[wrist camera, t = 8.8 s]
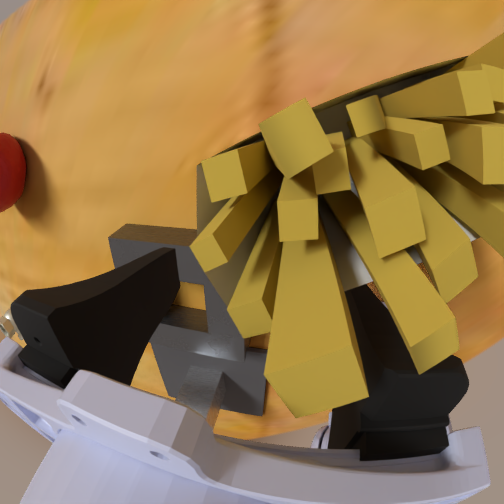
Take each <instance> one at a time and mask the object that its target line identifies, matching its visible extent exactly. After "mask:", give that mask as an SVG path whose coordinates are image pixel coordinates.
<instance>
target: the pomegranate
mask: <svg viewBox="0 0 504 504" xmlns="http://www.w3.org/2000/svg"><path fill="white" fill-rule="evenodd" d="M25 176H26V161H25V157H24V154H23V151H22V149H21V146H20V144H19V143H18V141H16V139H15V138H13V137H12V136H11V135H10V134H6V133H0V212H2V211H4V210H6V209H8V208H10V207H11V206H12V205H14V204H15V203H16V202H17V200H18V199H19V198H20V197H21V195H22V193H23V190H24V185H25Z"/></svg>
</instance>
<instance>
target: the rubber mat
mask: <svg viewBox="0 0 504 504" xmlns="http://www.w3.org/2000/svg"><path fill="white" fill-rule="evenodd" d="M151 345H152V349H153V352H154V355H155V358H156V361H157V364H158V367H159V370H160V373H161V376H162V379H163V381H164V384H165V387H166V390H167V392H168V395H169V396H171V397H174V398H176V397H177V395H178V393H179V391H180V389H181V386H182V384H183V382H184V380H185V378H186V375H187V373H188V371H189V369H190V367H191V366H195V367H200V368H206V369H212V370H218V371H223V376H224V381H225V386H226V392H225V395H224V398H223V401H222V404H221V407H220V409H224V410H229V411H234V412H239V413H245V414H251V415H257V416H262V415H263V407H264V397H265V387H266V377H265V376H264V370H265V364H266V358H267V352H268V350H265V349H258V348H251V347H249V348H248V351H247V355H246V358H245V362H239V361H233V360H228V359H222V358H217V357H212V356H207V355H202V354H197V353H192V352H188V351H183V350H179V349H175V348H170V347H166V346H162V345H158V344H154V343H151Z"/></svg>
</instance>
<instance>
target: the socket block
mask: <svg viewBox="0 0 504 504" xmlns="http://www.w3.org/2000/svg"><path fill="white" fill-rule="evenodd" d="M196 238H197V230H194V229H183V228H172V227H160V226H148V225H136V224H125V225H124V226H123V227H121V228H120V229H119V230H117V231H116V232H115V233H113V234H112V235H111V236H109V237H108V239H109V244H110V249H111V253H112V258H113V262H114V266H115V269H116V268H118V267H120V266H123V265H125V264H127V263H129V262H131V261H133V260H135V259H137V258H139V257H142V256H144V255H146V254H148V253H150V252H152V251H154V250H157V249H159V248H162V247H167V248H175V250H176V258H177V266H178V273H179V280H180V281H182V282H189V283H195V284H202V285H204V293H205V304H206V311H205V310H200V309H194V308H188V307H183V306H177V305H171V307H170V308H169V310H168V311H167V313H166V315H165V316H164V318H163V319H162V321H161V322H160V324H159V326H158V327H157V329H156V330H155V332H154V334H153V335H152V337H151V338H150V340H149V342H151V343H154V344H158V345H162V346H166V347H170V348H175V349H179V350H183V351H188V352H192V353H197V354H202V355H207V356H212V357H217V358H222V359H228V360H233V361H239V362H245V358H246V355H247V351H248V348H249V344H250V337H248V338H244V339H243V337H242V335H241V333H240V332H239V330H238V328H237V327H236V325H235V323H234V321H233V320H232V318H231V316H230V315H229V313H228V311H227V308H228V307H227V306H226V304H225V303H224V301H223V300H222V298H221V297H220V295H219V294H218V292H217V291H216V289H215V288H214V286H213V285H212V283H211V282H210V280H209V279H208V277H207V276H206V274H205V273H204V271H203V270H202V268H201V267H200V265H199V263H198V260H197V259H196V257H195V255H194V253H193V252H192V250H191V248H190V247H189V246H190V245H191V244H192V243H193V242H194V240H195V239H196Z"/></svg>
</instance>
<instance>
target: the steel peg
mask: <svg viewBox="0 0 504 504" xmlns="http://www.w3.org/2000/svg"><path fill="white" fill-rule="evenodd" d="M225 392H226V386H225V381H224V376H223V371H218V370H212V369H206V368H200V367H195V366H191V367H190V369H189V371H188V373H187V375H186V378H185V380H184V382H183V384H182V386H181V389H180V391H179V393H178V395H177V397H176V400H175V401H176V402H179V403H181V404H184V405H186V406H188V407H190V408H191V409H193V410H194V411H196V412H197V413H199V414H201V415H202V416H203V417H204V418H205V420H206V421H207V422H208V424H209V425H210V427H211V428H212V430H213V429H214V426H215V423H216V420H217V417H218V414H219V411H220V407H221V404H222V401H223V398H224V395H225Z"/></svg>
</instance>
